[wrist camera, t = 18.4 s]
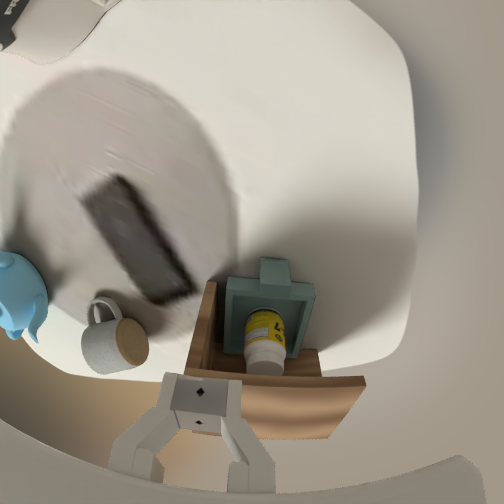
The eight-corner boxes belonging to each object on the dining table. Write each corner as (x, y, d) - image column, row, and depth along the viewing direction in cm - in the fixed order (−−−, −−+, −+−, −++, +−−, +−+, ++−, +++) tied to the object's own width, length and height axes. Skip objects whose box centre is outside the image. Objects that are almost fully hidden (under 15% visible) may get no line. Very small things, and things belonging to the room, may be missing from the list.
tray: (229, 254, 32) (224, 280, 27) (317, 262, 32) (325, 288, 28) (224, 340, 39) (221, 368, 34) (295, 345, 39) (298, 373, 34)
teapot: (36, 322, 41) (11, 360, 32) (-11, 262, 34) (-43, 294, 25) (70, 298, 37) (38, 344, 28) (13, 223, 30) (-30, 258, 22)
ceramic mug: (158, 340, 40) (143, 380, 33) (121, 348, 41) (104, 384, 35) (116, 286, 35) (92, 323, 28) (81, 300, 37) (57, 334, 30)
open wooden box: (207, 280, 34) (182, 377, 21) (337, 292, 34) (366, 385, 22) (207, 347, 40) (192, 432, 27) (315, 354, 40) (327, 438, 28)
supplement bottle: (287, 327, 36) (291, 379, 29) (253, 335, 37) (251, 387, 30) (277, 301, 34) (280, 354, 27) (240, 310, 35) (236, 363, 28)
